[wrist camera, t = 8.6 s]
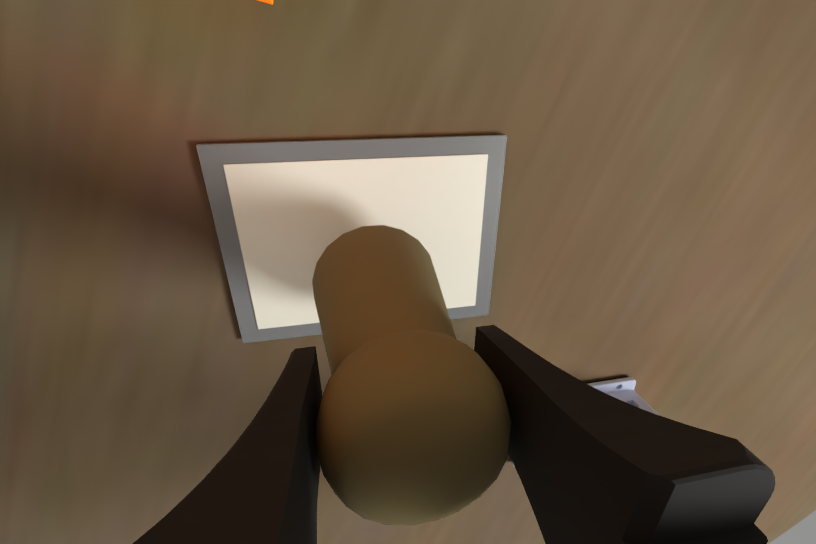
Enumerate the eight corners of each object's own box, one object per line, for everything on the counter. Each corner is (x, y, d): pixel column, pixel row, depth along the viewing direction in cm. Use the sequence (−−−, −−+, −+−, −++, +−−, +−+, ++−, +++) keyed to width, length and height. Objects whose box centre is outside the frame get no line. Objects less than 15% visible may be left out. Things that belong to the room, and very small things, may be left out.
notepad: (504, 134, 20) (508, 135, 20) (486, 311, 25) (489, 315, 25) (198, 143, 18) (195, 145, 17) (244, 339, 23) (242, 344, 22)
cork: (315, 218, 17) (299, 371, 7) (445, 230, 19) (581, 373, 9) (308, 336, 19) (288, 578, 9) (425, 339, 21) (515, 552, 11)
